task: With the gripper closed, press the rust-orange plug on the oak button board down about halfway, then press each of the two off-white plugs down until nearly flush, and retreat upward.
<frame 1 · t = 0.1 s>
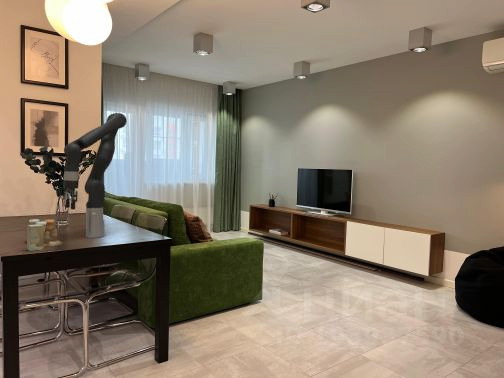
hand: (70, 208, 208), 17 cm above the table, tool pointing down, fingers open, 8 cm apart
white plug A: (34, 226, 198), point 8 cm above the table, slide at 0.0 cm
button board: (44, 243, 198), on the table
rust plug: (49, 227, 199), point 8 cm above the table, slide at 0.0 cm
white plug B: (41, 229, 192), point 8 cm above the table, slide at 0.0 cm
skincare box: (35, 250, 183), on the table
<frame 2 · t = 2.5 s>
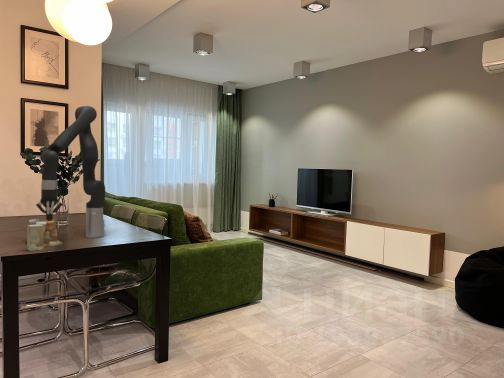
hand: (49, 220, 198), 12 cm above the table, tool pointing down, fingers closed
rust plug: (49, 227, 199), point 8 cm above the table, slide at 0.3 cm, touching gripper
everything else where it was.
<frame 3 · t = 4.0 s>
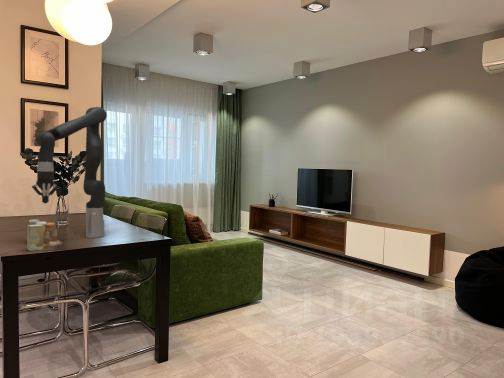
hand: (45, 203, 197), 21 cm above the table, tool pointing down, fingers closed
rust plug: (49, 229, 199), point 7 cm above the table, slide at 1.6 cm
everything else where it was.
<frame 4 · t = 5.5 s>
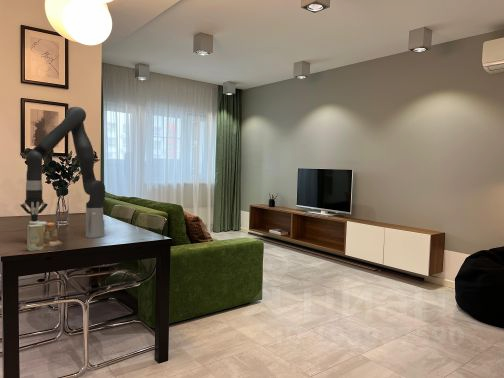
hand: (34, 221, 198), 11 cm above the table, tool pointing down, fingers closed
white plug A: (34, 228, 198), point 8 cm above the table, slide at 0.8 cm, touching gripper
everything else where it was.
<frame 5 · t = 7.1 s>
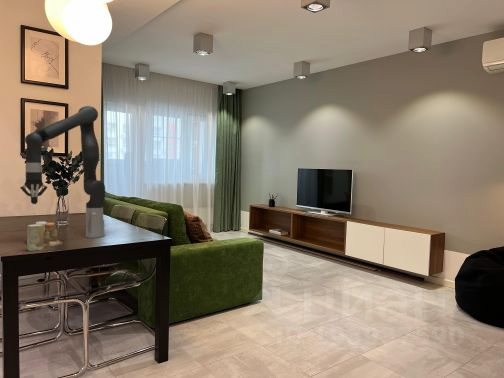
hand: (34, 203, 197), 21 cm above the table, tool pointing down, fingers closed
white plug A: (34, 231, 198), point 6 cm above the table, slide at 2.8 cm
everything else where it was.
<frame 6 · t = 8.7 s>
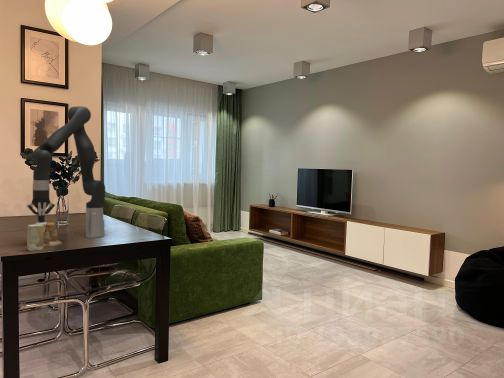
hand: (41, 222, 192), 12 cm above the table, tool pointing down, fingers closed
white plug B: (41, 229, 192), point 8 cm above the table, slide at 0.2 cm, touching gripper
everything else where it was.
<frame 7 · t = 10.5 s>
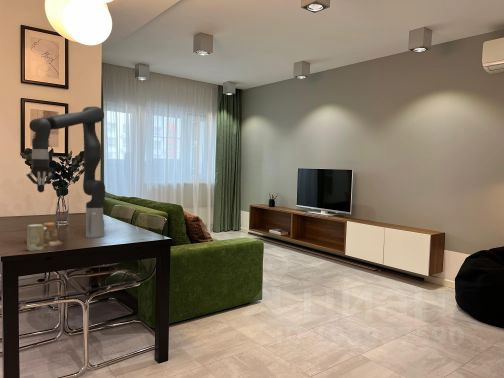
hand: (40, 192, 191), 28 cm above the table, tool pointing down, fingers closed
white plug B: (41, 234, 192), point 6 cm above the table, slide at 2.8 cm
everything else where it was.
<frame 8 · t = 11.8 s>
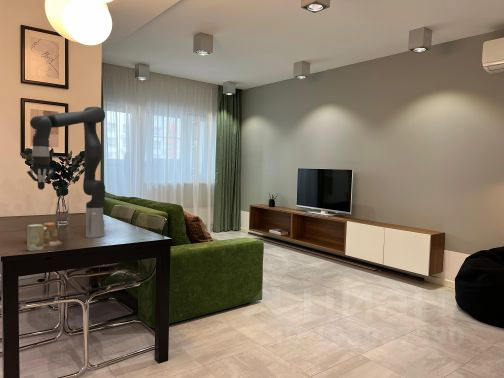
hand: (41, 189, 191), 29 cm above the table, tool pointing down, fingers closed
nothing on the table moved.
at the end: rust plug slide at 1.6 cm; white plug A slide at 2.8 cm; white plug B slide at 2.8 cm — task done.
